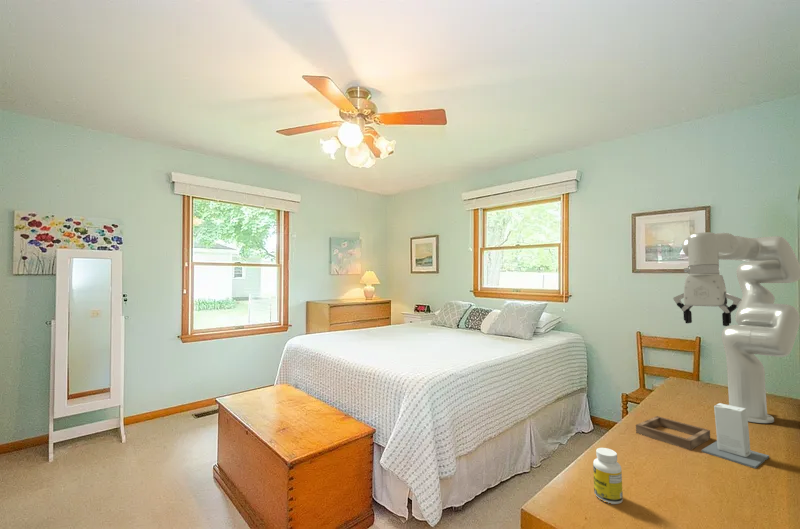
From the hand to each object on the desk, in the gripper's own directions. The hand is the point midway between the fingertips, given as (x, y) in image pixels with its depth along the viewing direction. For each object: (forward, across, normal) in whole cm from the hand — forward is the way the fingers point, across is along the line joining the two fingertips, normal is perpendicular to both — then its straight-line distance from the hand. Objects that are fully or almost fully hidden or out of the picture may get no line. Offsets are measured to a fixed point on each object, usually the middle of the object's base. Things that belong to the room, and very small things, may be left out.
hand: (706, 324), depth 116 cm
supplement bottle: (+34, +2, -64) cm, 72 cm away
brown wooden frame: (+33, -5, -15) cm, 37 cm away
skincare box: (+33, +9, -15) cm, 37 cm away
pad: (+33, +10, -15) cm, 38 cm away
